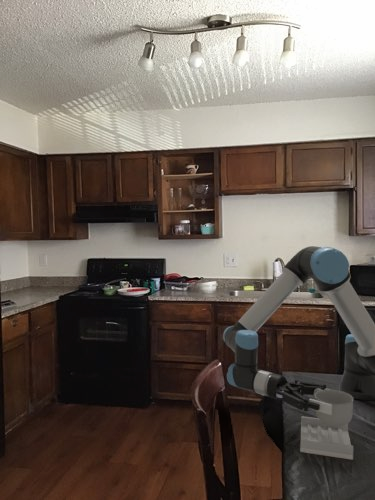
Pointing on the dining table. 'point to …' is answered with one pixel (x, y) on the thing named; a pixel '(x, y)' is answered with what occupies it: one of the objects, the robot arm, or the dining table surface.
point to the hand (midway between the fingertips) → (339, 403)
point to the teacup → (335, 407)
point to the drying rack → (325, 439)
